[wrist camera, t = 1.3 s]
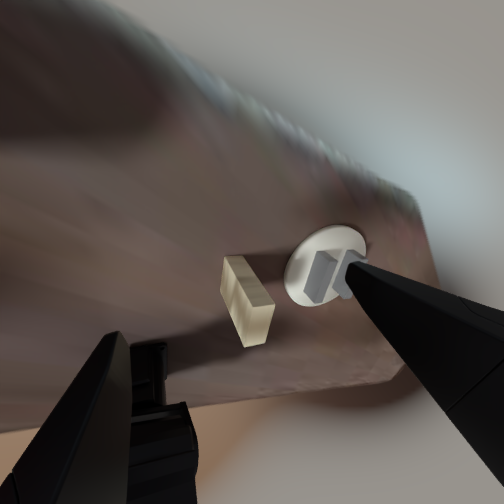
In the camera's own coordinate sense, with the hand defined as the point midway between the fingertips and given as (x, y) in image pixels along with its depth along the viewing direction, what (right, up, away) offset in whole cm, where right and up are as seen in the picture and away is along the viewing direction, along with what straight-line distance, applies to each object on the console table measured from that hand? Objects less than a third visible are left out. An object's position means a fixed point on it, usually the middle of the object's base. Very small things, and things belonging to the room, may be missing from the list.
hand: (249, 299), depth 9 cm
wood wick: (-2, -1, +17) cm, 17 cm away
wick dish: (+10, 0, +22) cm, 24 cm away
